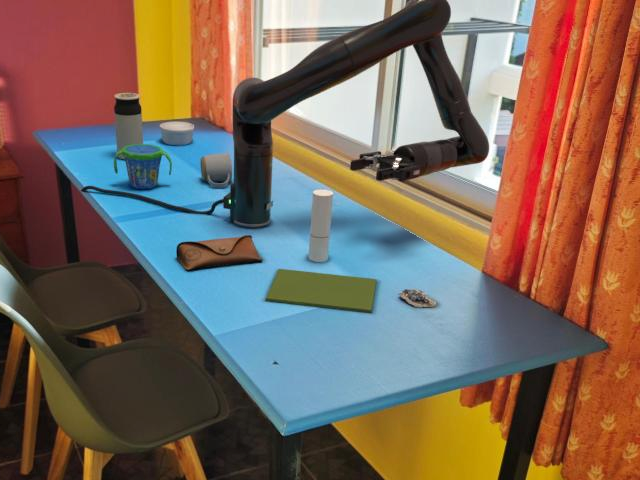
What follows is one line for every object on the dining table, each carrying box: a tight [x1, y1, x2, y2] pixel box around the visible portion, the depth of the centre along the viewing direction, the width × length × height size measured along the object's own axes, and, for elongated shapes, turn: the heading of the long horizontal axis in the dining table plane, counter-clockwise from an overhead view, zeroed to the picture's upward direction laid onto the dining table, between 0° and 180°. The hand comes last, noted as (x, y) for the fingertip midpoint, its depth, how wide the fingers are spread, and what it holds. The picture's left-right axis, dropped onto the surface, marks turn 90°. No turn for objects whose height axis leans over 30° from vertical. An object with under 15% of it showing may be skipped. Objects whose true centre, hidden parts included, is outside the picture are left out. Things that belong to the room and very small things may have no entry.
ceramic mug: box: [200, 152, 233, 189], centre depth 215 cm, size 11×8×8 cm
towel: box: [265, 268, 378, 314], centre depth 158 cm, size 21×15×1 cm
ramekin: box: [159, 121, 195, 146], centre depth 250 cm, size 11×11×5 cm
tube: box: [308, 189, 334, 263], centre depth 169 cm, size 4×4×15 cm
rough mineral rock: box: [397, 288, 437, 308], centre depth 155 cm, size 7×8×2 cm
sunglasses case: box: [175, 234, 263, 271], centre depth 170 cm, size 18×7×7 cm, turn 112°
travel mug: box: [113, 92, 144, 161], centre depth 231 cm, size 8×8×18 cm
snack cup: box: [113, 143, 173, 190], centre depth 210 cm, size 16×10×10 cm
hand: (364, 170), depth 169 cm, fingers open, 8 cm apart
